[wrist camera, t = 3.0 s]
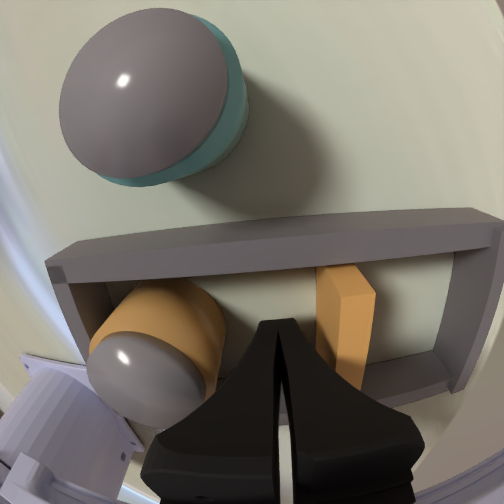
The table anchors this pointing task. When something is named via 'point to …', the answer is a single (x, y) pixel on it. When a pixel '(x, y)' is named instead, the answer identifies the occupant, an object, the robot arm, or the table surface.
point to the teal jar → (154, 98)
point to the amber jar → (158, 352)
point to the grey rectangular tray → (309, 255)
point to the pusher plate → (344, 319)
